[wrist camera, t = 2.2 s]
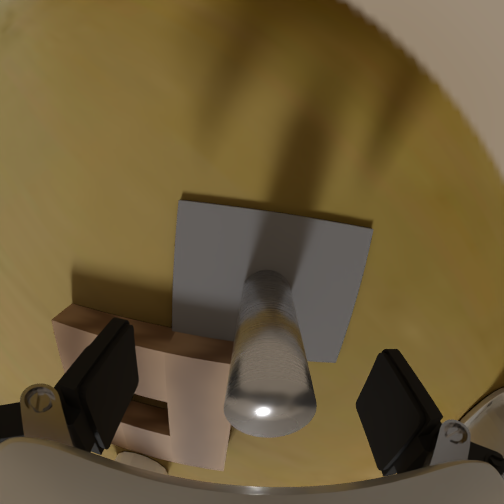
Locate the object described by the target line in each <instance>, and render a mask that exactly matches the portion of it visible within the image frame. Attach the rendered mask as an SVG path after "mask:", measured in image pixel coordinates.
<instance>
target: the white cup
mask: <svg viewBox="0 0 504 504" xmlns="http://www.w3.org/2000/svg"><path fill="white" fill-rule="evenodd" d="M115 461H117V462H120V463H123V464H126V465H130V466H133V467H137V468H141V469H145V470H148V471H152V472H156V473H160V474H165V475H168V473H167V471H166V469H165V468H164V467H163V466H161V465H160V464H159V463H158V462H156V461H154V460H152V459H150V458H148V457H146V456H143V455H140V454H137V453H132V452H122V453H119V454H118V455H117V457H116V459H115Z"/></svg>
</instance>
